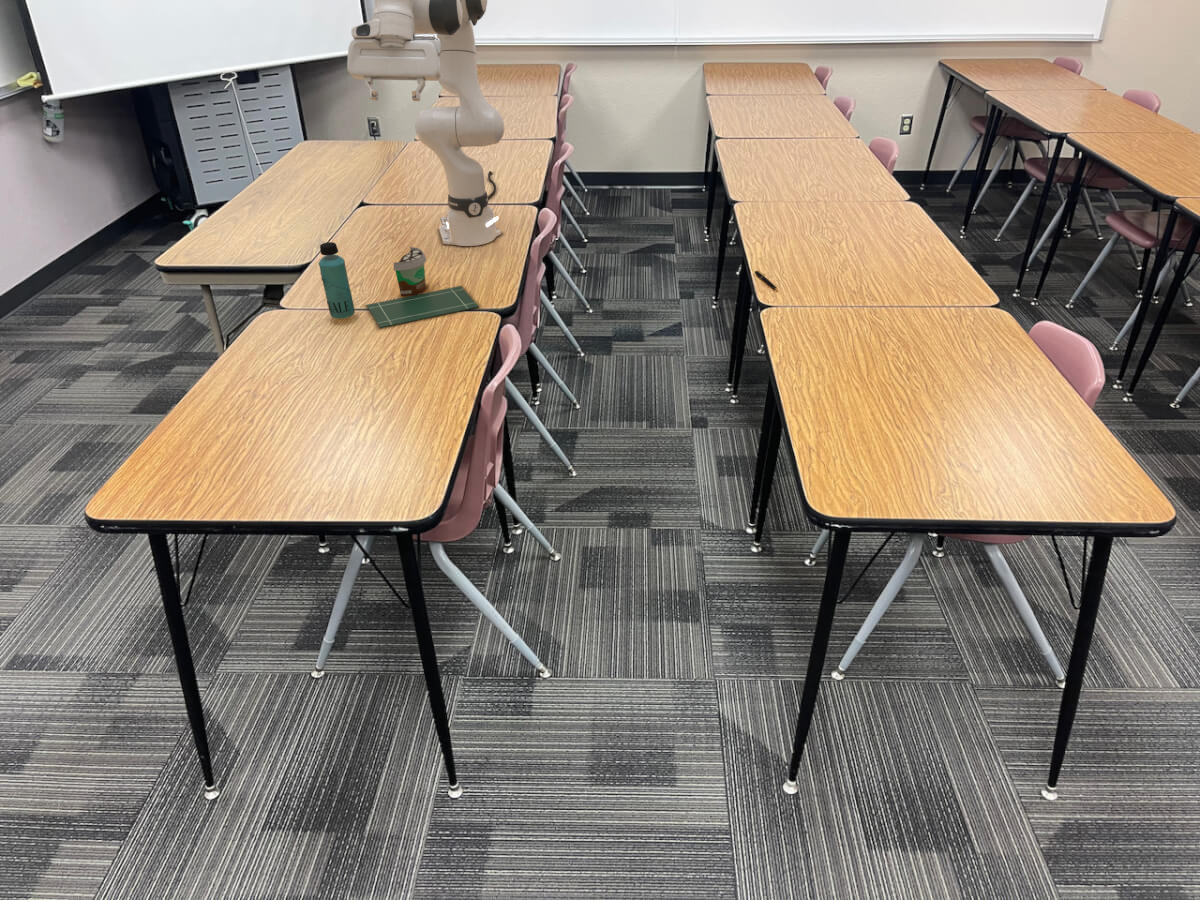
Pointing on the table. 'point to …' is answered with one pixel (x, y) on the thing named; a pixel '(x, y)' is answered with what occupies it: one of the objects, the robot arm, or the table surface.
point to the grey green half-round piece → (411, 272)
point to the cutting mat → (421, 306)
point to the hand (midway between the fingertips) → (395, 100)
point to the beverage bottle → (335, 282)
